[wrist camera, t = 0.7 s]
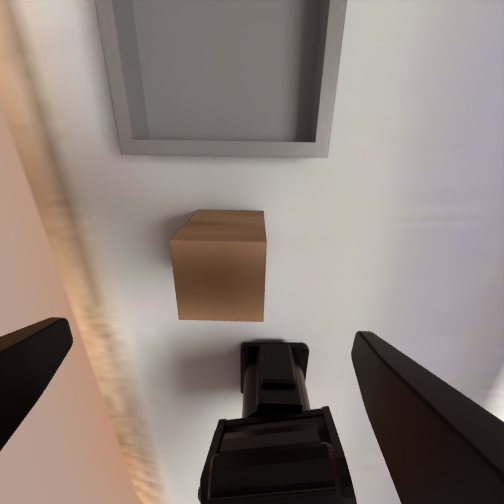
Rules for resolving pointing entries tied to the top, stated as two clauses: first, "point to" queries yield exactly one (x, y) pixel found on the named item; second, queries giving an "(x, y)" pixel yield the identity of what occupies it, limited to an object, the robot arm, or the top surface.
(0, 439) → the robot arm
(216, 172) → the top surface
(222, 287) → the walnut block
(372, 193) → the top surface
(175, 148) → the grey square tray
